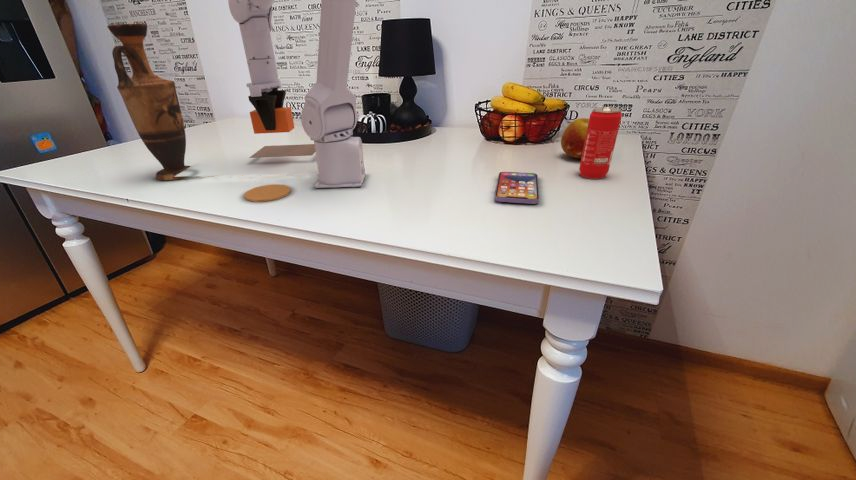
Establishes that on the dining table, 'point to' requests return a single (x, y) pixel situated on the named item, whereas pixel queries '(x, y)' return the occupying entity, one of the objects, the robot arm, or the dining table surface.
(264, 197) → the cork coaster
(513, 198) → the smartphone
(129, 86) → the vase
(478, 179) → the dining table surface
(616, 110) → the beverage can
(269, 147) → the bread board
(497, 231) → the dining table surface
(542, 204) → the dining table surface
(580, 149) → the fruit
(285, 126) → the snack box
